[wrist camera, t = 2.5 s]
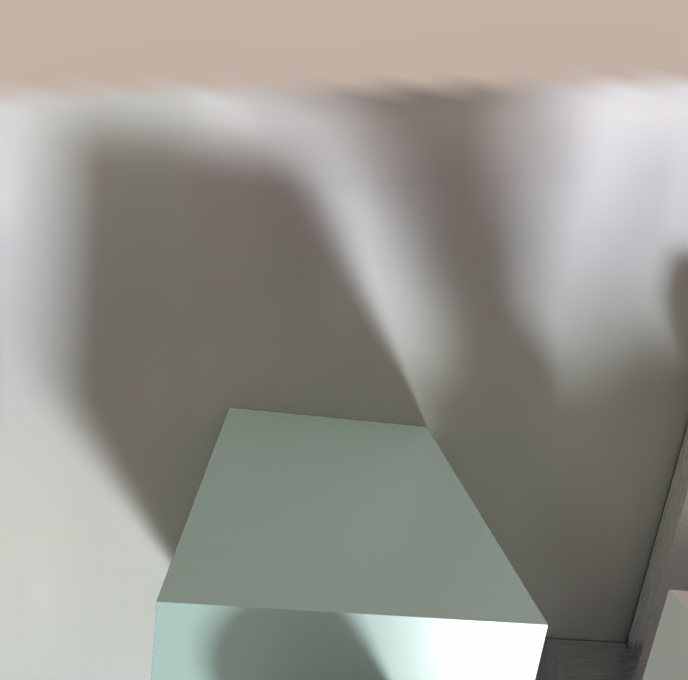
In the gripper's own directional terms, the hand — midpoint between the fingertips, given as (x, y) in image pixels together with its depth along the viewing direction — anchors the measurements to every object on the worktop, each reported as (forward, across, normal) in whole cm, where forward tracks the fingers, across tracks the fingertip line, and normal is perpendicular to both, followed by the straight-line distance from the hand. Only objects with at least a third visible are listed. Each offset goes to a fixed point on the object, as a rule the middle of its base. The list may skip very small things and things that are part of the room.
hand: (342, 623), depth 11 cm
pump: (+4, 0, 0) cm, 4 cm away
